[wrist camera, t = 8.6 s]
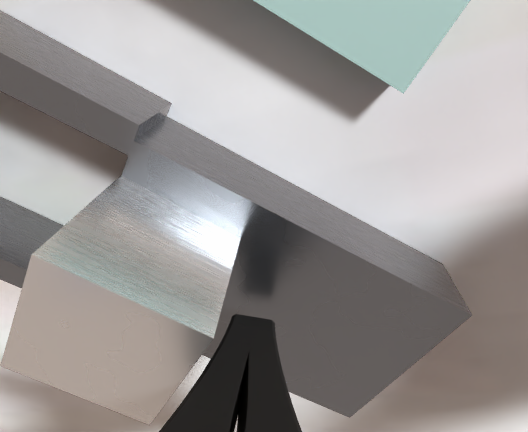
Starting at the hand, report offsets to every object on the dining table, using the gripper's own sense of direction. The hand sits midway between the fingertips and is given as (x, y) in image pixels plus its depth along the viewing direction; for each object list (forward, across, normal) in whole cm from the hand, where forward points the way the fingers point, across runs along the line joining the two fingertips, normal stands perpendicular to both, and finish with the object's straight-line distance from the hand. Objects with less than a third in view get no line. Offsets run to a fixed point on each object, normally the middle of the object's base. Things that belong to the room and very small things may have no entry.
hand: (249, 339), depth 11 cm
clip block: (+2, +3, -2) cm, 4 cm away
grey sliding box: (+4, 0, 0) cm, 4 cm away
